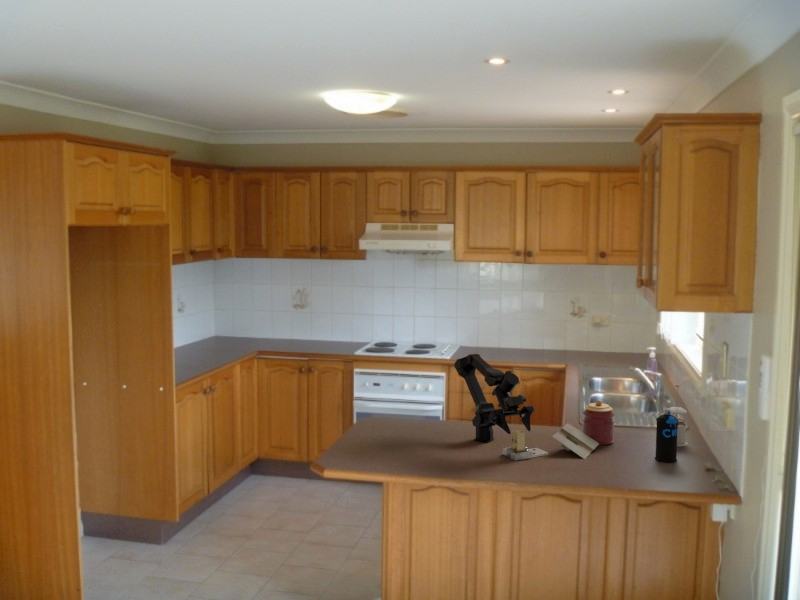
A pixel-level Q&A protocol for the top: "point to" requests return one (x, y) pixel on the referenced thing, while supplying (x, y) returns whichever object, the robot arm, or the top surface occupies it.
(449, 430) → the top surface
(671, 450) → the aerosol can
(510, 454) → the hinge base
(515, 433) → the tan rectangular pillar
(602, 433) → the canister
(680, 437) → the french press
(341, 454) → the top surface
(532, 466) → the top surface
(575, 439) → the pale grey slotted block
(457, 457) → the top surface
